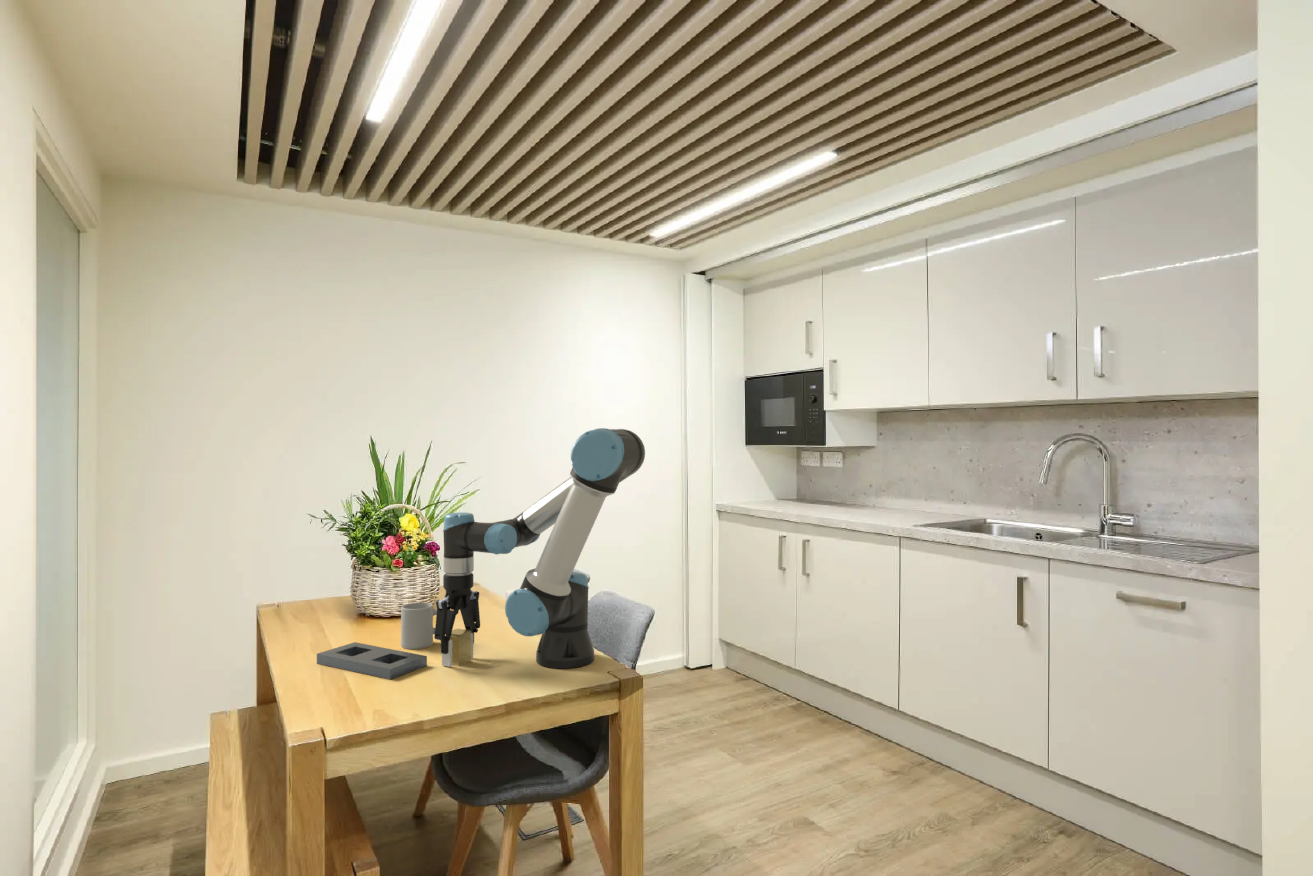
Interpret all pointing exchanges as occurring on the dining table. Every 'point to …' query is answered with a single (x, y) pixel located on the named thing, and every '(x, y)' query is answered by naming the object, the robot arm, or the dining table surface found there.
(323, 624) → the dining table surface
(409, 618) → the mug
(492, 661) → the dining table surface
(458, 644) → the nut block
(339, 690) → the dining table surface
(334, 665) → the square hole plate
